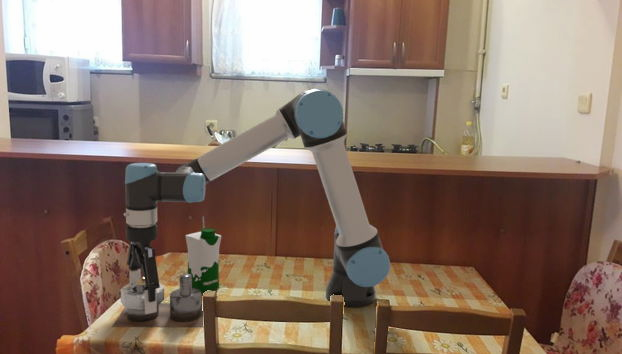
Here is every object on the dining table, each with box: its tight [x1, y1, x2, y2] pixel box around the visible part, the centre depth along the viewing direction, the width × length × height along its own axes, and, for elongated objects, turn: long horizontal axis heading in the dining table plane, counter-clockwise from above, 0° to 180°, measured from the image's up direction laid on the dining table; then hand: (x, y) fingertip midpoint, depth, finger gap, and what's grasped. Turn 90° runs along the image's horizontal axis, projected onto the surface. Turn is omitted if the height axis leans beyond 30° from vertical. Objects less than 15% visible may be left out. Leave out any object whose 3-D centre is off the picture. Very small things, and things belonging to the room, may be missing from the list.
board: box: [111, 302, 204, 328], centre depth 128 cm, size 14×24×2 cm, turn 95°
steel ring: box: [120, 281, 165, 310], centre depth 126 cm, size 10×10×4 cm
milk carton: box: [185, 227, 222, 295], centre depth 145 cm, size 9×9×20 cm
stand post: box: [169, 273, 202, 322], centre depth 127 cm, size 8×8×11 cm
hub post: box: [127, 276, 159, 322], centre depth 126 cm, size 8×8×10 cm
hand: (142, 302), depth 126 cm, fingers open, 13 cm apart
